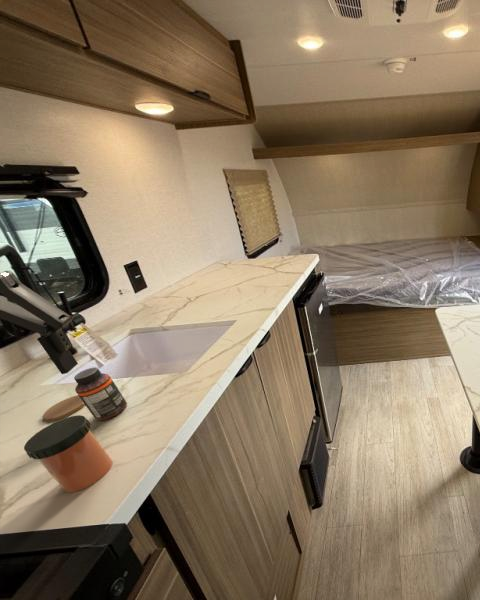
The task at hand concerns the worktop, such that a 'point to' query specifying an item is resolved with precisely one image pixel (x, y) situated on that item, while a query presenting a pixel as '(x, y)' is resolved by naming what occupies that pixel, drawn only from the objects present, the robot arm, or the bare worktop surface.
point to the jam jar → (79, 464)
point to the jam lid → (57, 437)
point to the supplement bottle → (99, 394)
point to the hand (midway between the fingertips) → (18, 381)
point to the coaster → (64, 408)
